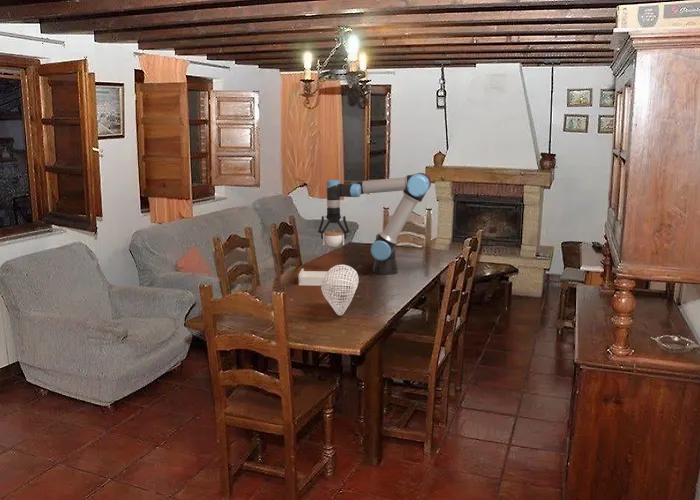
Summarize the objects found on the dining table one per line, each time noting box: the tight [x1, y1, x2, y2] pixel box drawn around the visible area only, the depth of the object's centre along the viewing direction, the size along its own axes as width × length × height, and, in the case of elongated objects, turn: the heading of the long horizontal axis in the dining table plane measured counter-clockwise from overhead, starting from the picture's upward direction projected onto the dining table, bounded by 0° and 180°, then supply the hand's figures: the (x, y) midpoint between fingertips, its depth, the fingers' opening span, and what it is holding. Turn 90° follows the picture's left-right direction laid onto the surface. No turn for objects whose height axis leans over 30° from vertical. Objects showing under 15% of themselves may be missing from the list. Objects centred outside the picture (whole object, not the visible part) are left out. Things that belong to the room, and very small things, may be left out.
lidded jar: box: [324, 228, 344, 247], centre depth 378 cm, size 11×11×9 cm
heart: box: [321, 264, 359, 316], centre depth 300 cm, size 28×16×22 cm, turn 174°
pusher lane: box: [298, 268, 355, 287], centre depth 363 cm, size 31×15×6 cm, turn 87°
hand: (333, 244), depth 379 cm, fingers closed on lidded jar, 11 cm apart
